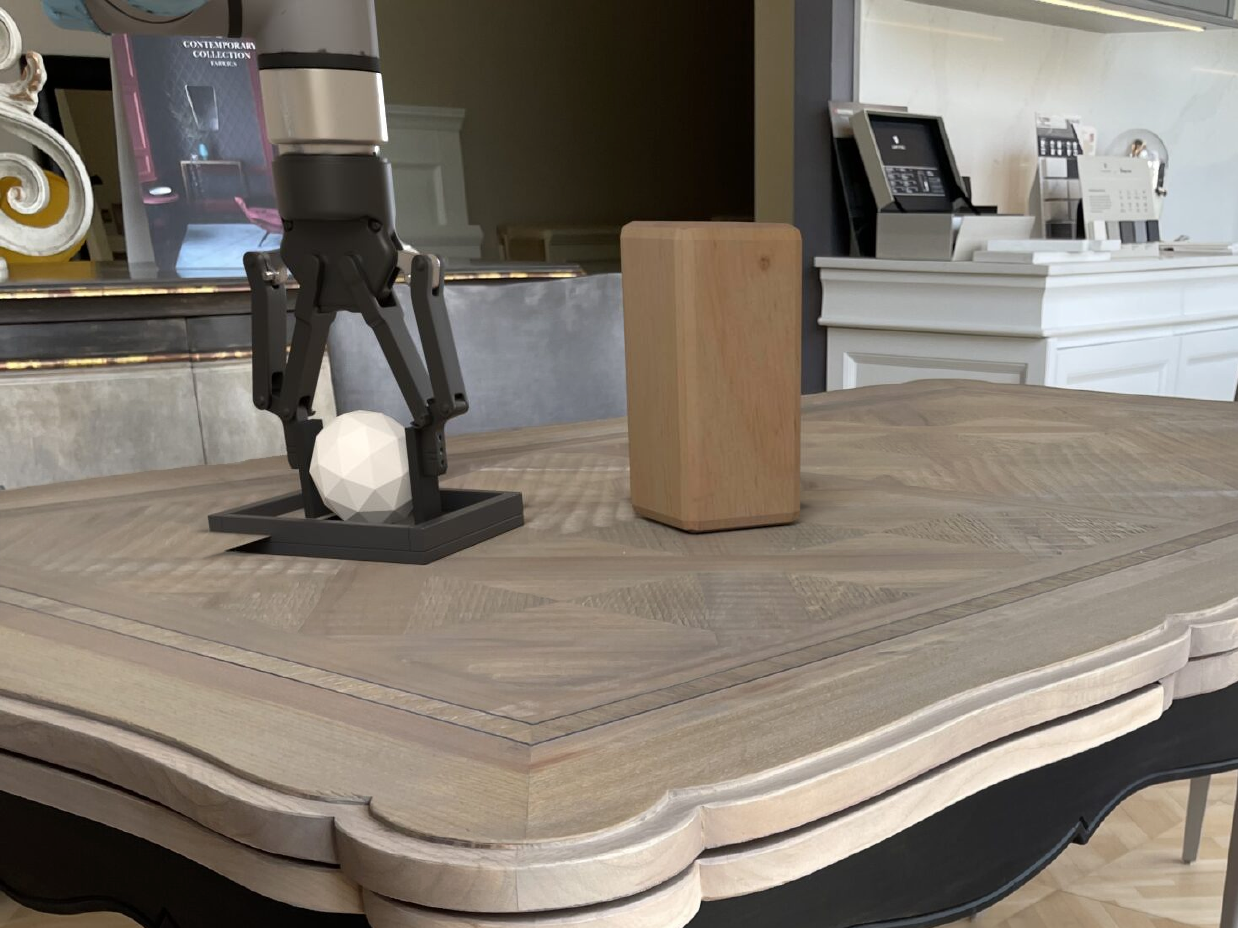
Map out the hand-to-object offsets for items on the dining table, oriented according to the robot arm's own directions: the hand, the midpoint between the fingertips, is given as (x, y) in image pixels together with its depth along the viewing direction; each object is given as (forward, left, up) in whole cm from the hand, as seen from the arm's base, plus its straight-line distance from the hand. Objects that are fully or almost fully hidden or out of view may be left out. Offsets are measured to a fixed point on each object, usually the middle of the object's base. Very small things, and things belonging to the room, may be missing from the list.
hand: (374, 521), depth 113 cm
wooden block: (+21, +14, -1) cm, 25 cm away
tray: (0, 0, -1) cm, 1 cm away
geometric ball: (0, 0, -1) cm, 1 cm away
